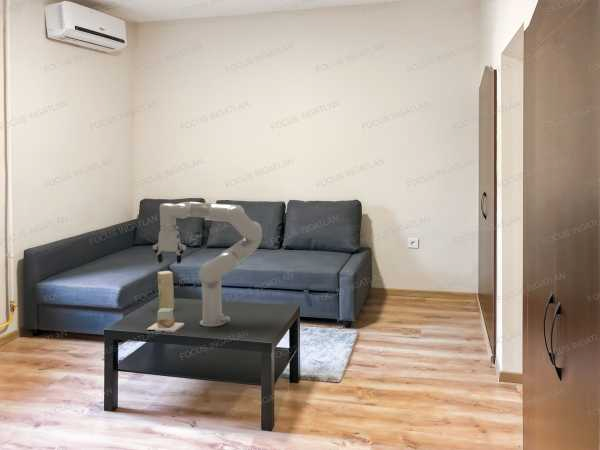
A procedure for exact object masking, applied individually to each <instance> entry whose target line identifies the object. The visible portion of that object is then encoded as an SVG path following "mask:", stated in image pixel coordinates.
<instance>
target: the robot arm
mask: <svg viewBox="0 0 600 450" xmlns="http://www.w3.org/2000/svg"><path fill="white" fill-rule="evenodd" d="M191 217H192V218H202V219H207V220H208V221H213V222H229V224H230V225H231V226H232V227H233V228H234V229H235V230H236V231H237V232H238V233H239V234H240V235H241V236H242V237H243V238H242V239H240V240H239V241H238V242H236V243H235V244H234V245H232V246H230V247H229V248H227V249H225V250H224V251H222V252H221V253H220V254H219V255H218V256H216V257H215V258H213V259H212V260H208V261H206V262H204V263H203V264H202V266H201V267H200V269H199V271H198V278H199V280H200V281H201V300H202V301H201V302H202V303H201V305H202V306H201V308H202V319H201V320H200V321H199V325H200V326H202V327H210V328H211V327H212V328H213V327H219V326H222V325H225V323H226V322H230V320H231V318H230V317H229V316H226V315H224V313H223V312H222V310H223V309H222V306H223V305H222V304H223V303H222V278H224V277H225V276H226V275H228V274H230V273H231V272H232V271H234V270H235V269H236V267H237V265H238V264H239V263H241V262H242V261H243V260H245V259H246V258H248V257H249V256H250V255H252V254H253V253H254V252H255V251H256V250H257V249H258V248H259V246H260V244H261V242H262V238H263V230H262V226H261V225H260V223H259V222H257V221H254V220H252V219H251V218H250V217H249V216H248V215H247V214H246V212H245V209H244V207H242V205H239V204H229V203H211V202H197V201H182V202H178V203H173V202H168V203H167V202H166V203H163V202H162V203H161V204H160V205H159V220H160V221H159V222H160V231H158V242H157V243H155V244H153V245H152V249H153V252H155V254H156V255H157V261H158V263H159V264H160V263H163V254H162V253H163V252H169V253H172V252H175V253H176V264H181V262H182V255H183V253H184V252H185V250H186V248H187V245H185V244H183V243H181V239H180V233H179V228H180V227H179V225H177V219H186V218H191ZM157 247H158V248H157Z"/></svg>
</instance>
